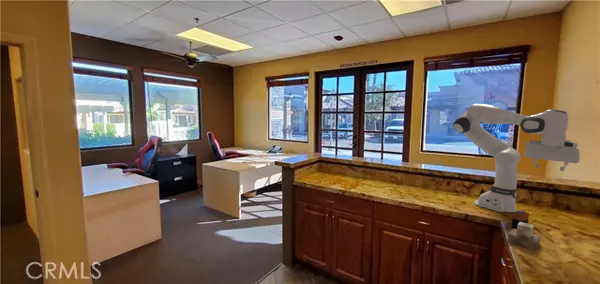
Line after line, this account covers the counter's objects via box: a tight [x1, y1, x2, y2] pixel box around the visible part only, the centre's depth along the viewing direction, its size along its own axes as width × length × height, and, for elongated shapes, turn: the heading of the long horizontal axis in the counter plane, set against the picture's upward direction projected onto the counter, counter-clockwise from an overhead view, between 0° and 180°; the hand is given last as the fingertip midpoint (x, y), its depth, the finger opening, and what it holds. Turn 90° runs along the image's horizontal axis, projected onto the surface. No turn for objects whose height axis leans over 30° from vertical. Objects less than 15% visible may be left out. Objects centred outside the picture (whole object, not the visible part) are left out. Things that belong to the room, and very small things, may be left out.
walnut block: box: [507, 228, 541, 252], centre depth 123 cm, size 10×10×4 cm
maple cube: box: [517, 222, 534, 238], centre depth 123 cm, size 5×5×5 cm
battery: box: [511, 209, 530, 230], centre depth 139 cm, size 4×7×10 cm, turn 116°
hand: (548, 168), depth 133 cm, fingers open, 8 cm apart
